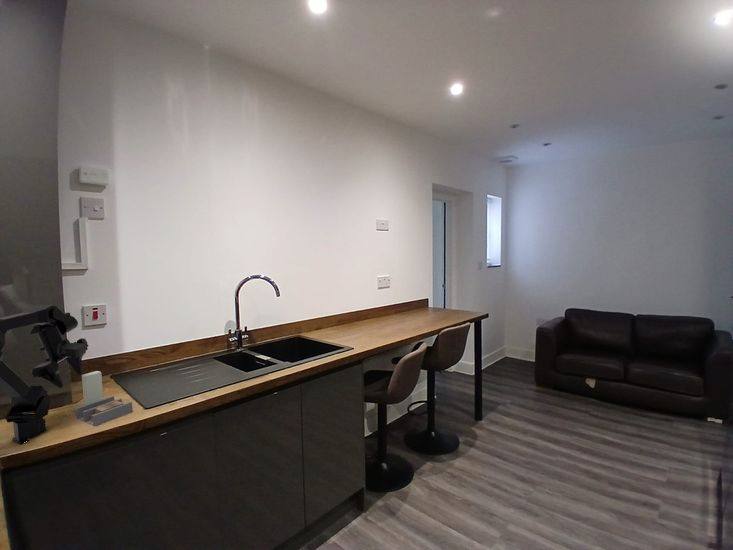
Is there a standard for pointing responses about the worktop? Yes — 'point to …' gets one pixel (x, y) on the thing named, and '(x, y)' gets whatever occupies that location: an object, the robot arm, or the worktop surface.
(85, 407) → the rack
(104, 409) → the offcuts
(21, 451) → the worktop surface
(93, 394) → the pale upright slab
